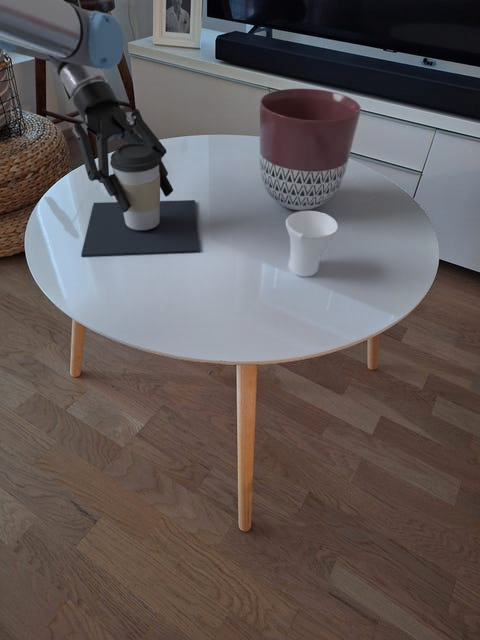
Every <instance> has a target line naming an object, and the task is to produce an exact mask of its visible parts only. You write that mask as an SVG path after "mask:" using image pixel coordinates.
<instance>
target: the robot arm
mask: <svg viewBox="0 0 480 640" xmlns="http://www.w3.org/2000/svg"><path fill="white" fill-rule="evenodd" d="M122 29H123V28H122V27H121V24H120V23H119V22H118V20H117V18H115V17H114V16H113V15H111V14H109V13H106V12H101V11H99V10H88V9H84V8H82V7H79V6H78V5H76V4H73V3H70V2H68V1H65V0H0V50H3V51H5V52H7V53H11V54H18V55H22V56H25V57H30V58H35V59H38V60H41V61H46V62H50V63H51V64H52V66H53V68H54V69H55V72H56V73H57V75H58V76H59V77H58V78H60V80H61V83H62V84H63V86H64V88H65V90H66V92H67V93H68V95H69V97H70V98H71V99H72V102H73V105H74V106H75V108H76V110H77V112H78V114H79V116H80V117H81V119H82V120H83V123H79V122H75V123H74V125H73V127H72V130H71V134H72V136H73V137H74V139H75V140H76V141H77V143H78V147H79V150H80V154H81V157H82V161H83V164H84V167H85V171H86V174H87V178H88V180H89V181H90V182H94V181H98V183H99V184H103V186H104V188H105V190H106V192H107V194H108V196H110V197H115V200H116V202H118V204H119V205H120V207H121V209H122V211H123V213H124V212H127V211H128V209H129V208H130V207H131V204H130V203H129V201H128V199H127V197H126V195H125V193H124V191H123V190H122V188H121V186H120V184H119V182H118V180H117V178H116V177H115V175H114V173H112V174H110V170H109V168H110V167H109V166H110V165H109V164H110V163H109V147H108V144H109V143H108V142H111V141H112V140H119V139H121V141H123V142H124V143H125V142H126V144H137V143H140V142H144V143H147V144H149V145H150V146H151V148H152V150H153V151H155V152H156V153H157V154H158V155H159V159H160V163H159V172H160V191H161V192H162V193H163V195H164V197H168V196H169V197H170V195H171V194H172V193H173V192H174V188H173V185H172V183H171V182H170V180H169V179H168V176H169V171H168V170H167V168H166V166H165V164H164V162H163V161H162V159H163V158H164V157H165V155H166V154H167V152H168V151H167V149H166V148H165V146H164V145H163V144H162V142H161V141H160V140H159V138H158V137H157V136H156V134H154V132H153V131H152V129H151V128H150V127H149V125H148V124H147V123H146V122H145V121H144V119H143V117H142V115H141V112H140V110H139V109H137V108H134V109H133V110H132V111H128V112H126V111H125V110H123V109H122V108H121V106H120V104H119V103H120V102H119V100H118V97H117V95H116V94H115V92H114V91H113V88H112V86H111V85H110V84H109V83H108V79H107V76H106V74H105V73H104V72H103V70H102V69H106V70H110V69H114V68H115V67H117V66H118V65H119V64H120V62H121V61H122V57H123V54H124V45H125V39H124V38H125V37H124V34H123V30H122ZM127 122H129V124H128V123H127ZM134 130H135V131H134ZM88 132H89V133H91V134H92V135H94V136H95V139H96V147H97V163H96V160H95V159H96V158H95V156H94V153H93V149H92V146H91V143H90V139H89V136H88ZM97 165H98V166H97Z"/></svg>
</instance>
